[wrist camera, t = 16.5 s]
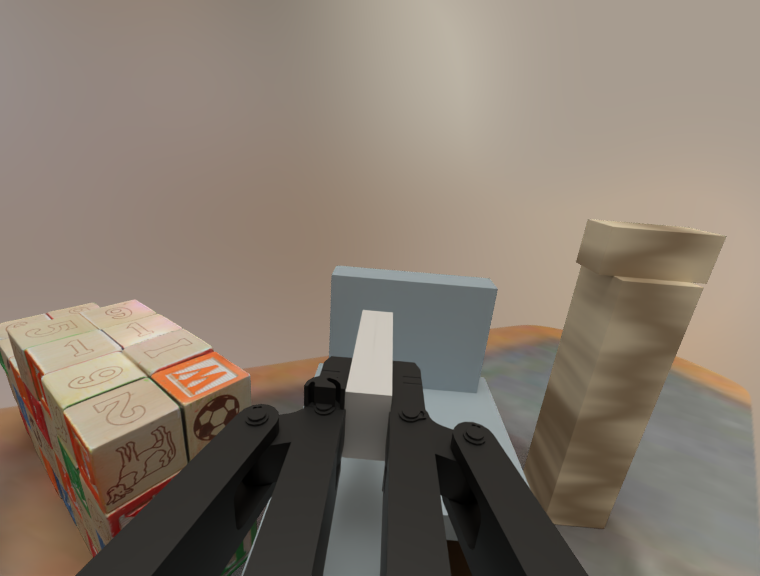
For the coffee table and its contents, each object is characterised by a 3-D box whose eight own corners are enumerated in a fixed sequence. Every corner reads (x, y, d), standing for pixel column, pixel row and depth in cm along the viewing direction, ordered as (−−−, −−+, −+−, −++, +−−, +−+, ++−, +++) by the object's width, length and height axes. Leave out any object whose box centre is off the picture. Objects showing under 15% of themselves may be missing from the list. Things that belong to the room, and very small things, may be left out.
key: (531, 522, 24) (622, 229, 17) (512, 472, 27) (580, 216, 21) (615, 529, 23) (741, 239, 17) (585, 478, 27) (677, 225, 21)
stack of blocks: (22, 432, 27) (-28, 282, 23) (117, 394, 32) (89, 265, 28) (142, 663, 16) (85, 448, 12) (262, 551, 21) (252, 370, 16)
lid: (131, 931, 8) (13, 705, 4) (319, 380, 26) (321, 264, 23) (699, 991, 7) (982, 800, 4) (480, 394, 26) (504, 279, 23)
